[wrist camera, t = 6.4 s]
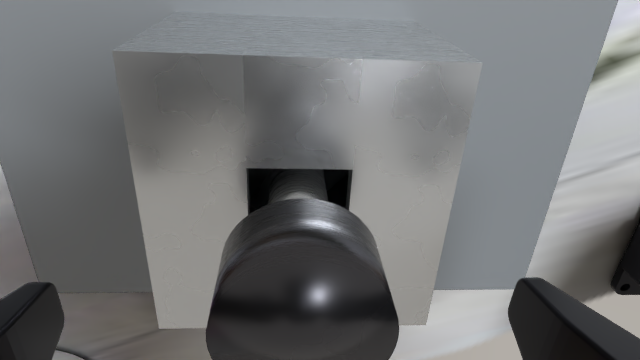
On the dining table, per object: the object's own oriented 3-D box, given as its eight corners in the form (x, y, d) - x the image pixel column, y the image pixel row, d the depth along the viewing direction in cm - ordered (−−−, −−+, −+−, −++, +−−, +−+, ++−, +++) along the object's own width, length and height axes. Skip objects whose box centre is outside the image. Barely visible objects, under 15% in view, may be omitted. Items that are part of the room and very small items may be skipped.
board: (621, -101, 15) (653, -105, 14) (507, 268, 23) (520, 289, 21) (-64, -145, 13) (-102, -154, 12) (57, 270, 21) (42, 293, 20)
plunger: (383, 64, 14) (493, 203, 7) (367, 211, 17) (432, 431, 9) (209, 59, 14) (112, 201, 6) (219, 210, 17) (160, 440, 9)
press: (415, 21, 15) (482, 63, 10) (387, 218, 19) (426, 324, 14) (175, 11, 15) (111, 50, 9) (196, 217, 18) (158, 328, 13)
